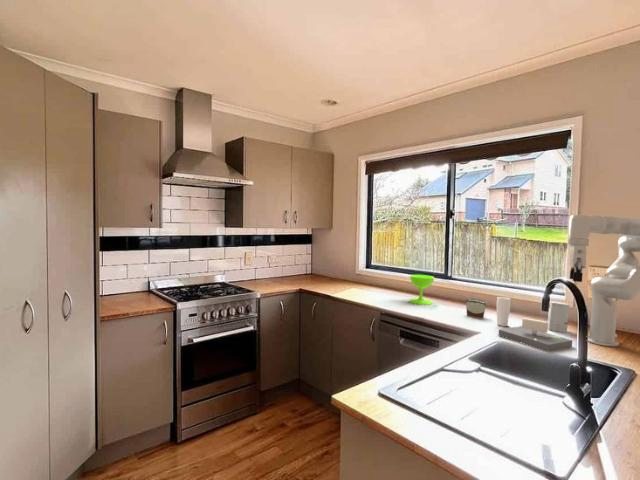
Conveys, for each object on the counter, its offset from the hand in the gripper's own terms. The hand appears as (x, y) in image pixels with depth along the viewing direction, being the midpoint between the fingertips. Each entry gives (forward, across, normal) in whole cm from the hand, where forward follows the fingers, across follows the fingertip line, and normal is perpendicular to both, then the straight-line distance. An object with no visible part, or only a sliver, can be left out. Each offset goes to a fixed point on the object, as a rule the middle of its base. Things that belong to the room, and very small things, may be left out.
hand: (575, 280), depth 163 cm
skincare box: (+31, +30, +2) cm, 43 cm away
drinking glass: (+31, +22, +28) cm, 47 cm away
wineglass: (+31, +56, +79) cm, 102 cm away
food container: (+31, +36, +42) cm, 63 cm away
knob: (+27, -1, +12) cm, 30 cm away
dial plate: (+30, -1, +15) cm, 34 cm away
